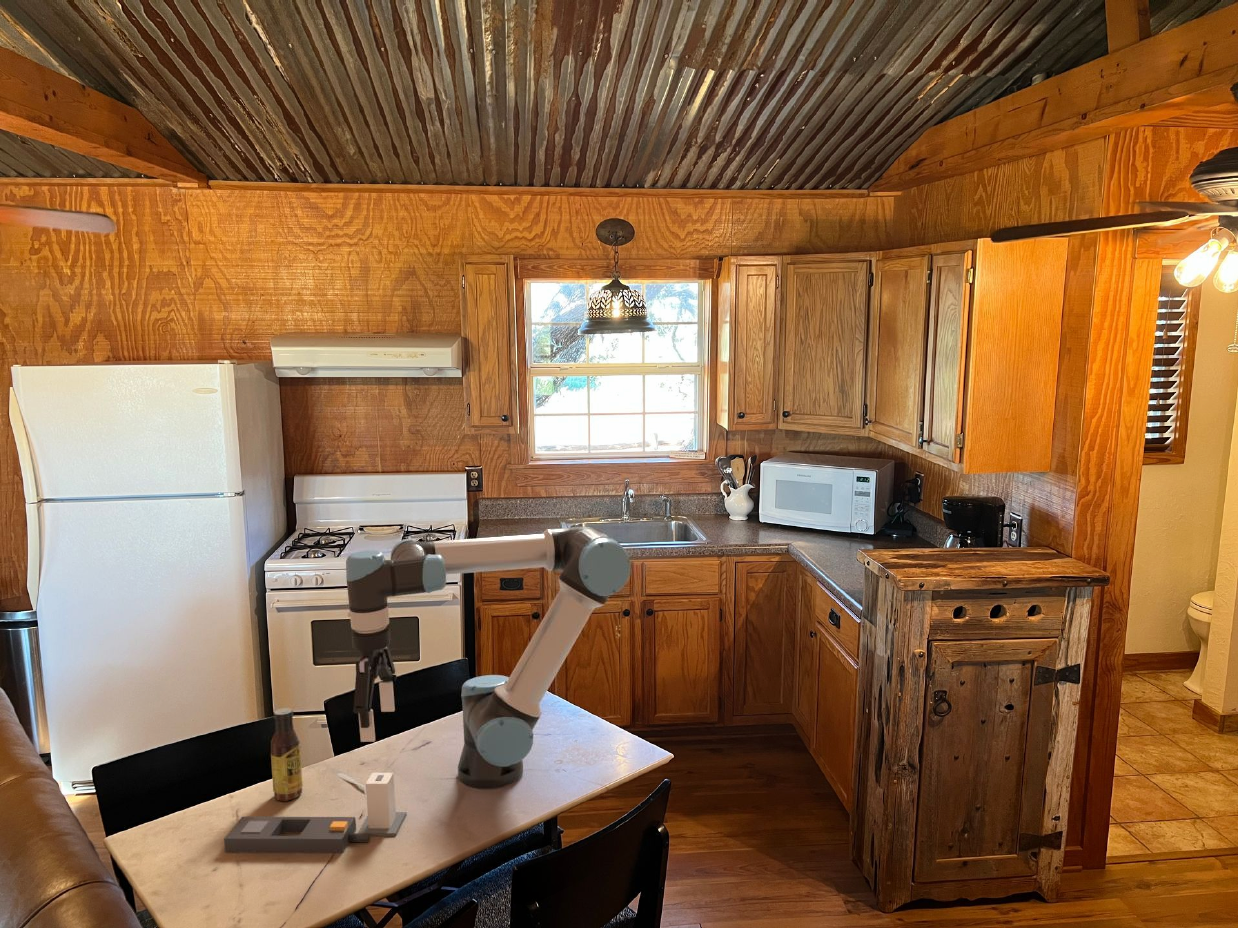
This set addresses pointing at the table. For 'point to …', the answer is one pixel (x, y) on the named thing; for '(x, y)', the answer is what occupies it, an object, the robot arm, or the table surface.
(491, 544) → the robot arm
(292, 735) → the sauce bottle
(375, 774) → the block
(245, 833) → the power strip
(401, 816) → the mat
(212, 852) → the table surface
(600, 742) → the table surface
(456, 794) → the table surface
